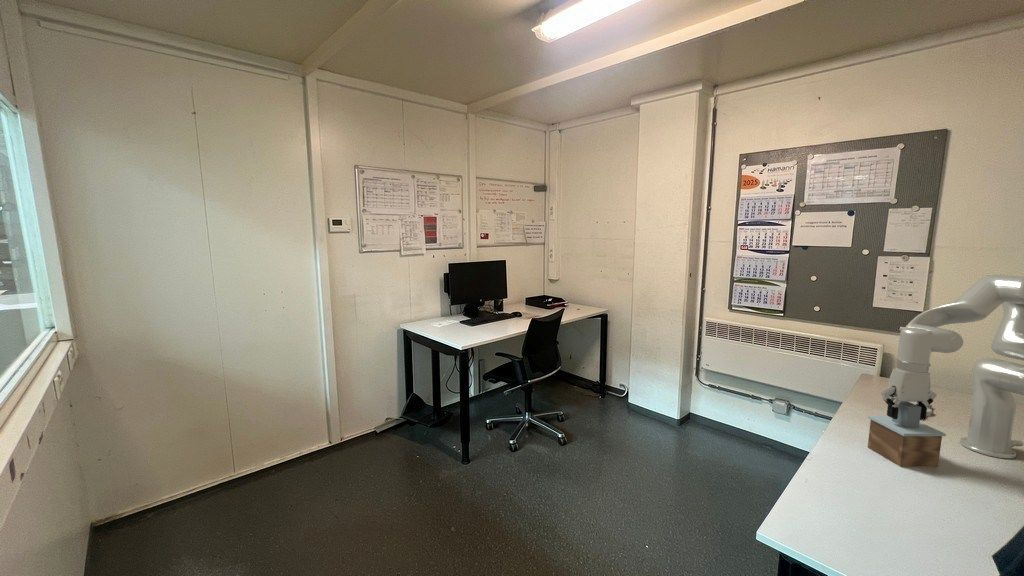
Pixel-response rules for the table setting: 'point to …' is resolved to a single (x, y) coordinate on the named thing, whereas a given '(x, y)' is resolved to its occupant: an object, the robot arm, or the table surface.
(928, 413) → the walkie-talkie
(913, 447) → the box
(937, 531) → the table surface
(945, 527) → the table surface
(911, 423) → the lid
